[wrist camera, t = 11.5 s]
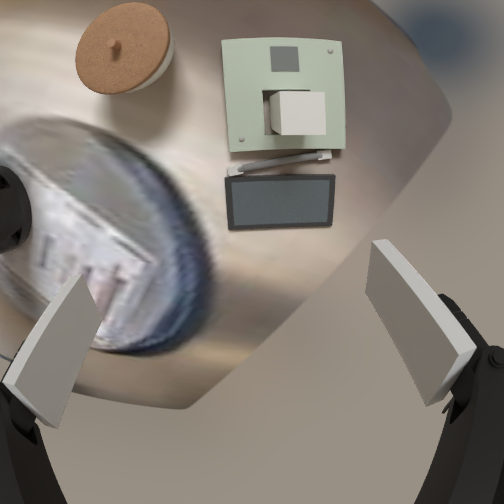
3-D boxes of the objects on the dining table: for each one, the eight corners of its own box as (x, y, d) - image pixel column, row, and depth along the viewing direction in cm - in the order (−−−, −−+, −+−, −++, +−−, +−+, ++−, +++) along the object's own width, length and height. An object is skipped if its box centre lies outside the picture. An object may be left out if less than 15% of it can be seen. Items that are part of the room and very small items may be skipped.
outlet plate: (230, 150, 33) (229, 152, 31) (222, 43, 26) (221, 40, 25) (341, 147, 33) (345, 149, 31) (337, 43, 26) (341, 41, 25)
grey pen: (229, 175, 34) (229, 176, 34) (227, 166, 34) (226, 168, 33) (330, 157, 33) (332, 158, 33) (329, 148, 33) (331, 150, 32)
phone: (228, 226, 38) (228, 230, 37) (225, 176, 35) (224, 178, 34) (329, 222, 38) (332, 225, 37) (332, 173, 35) (335, 175, 34)
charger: (271, 129, 32) (281, 136, 23) (269, 97, 30) (279, 91, 21) (303, 128, 32) (325, 135, 23) (302, 96, 30) (324, 92, 21)
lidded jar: (164, 105, 30) (137, 104, 21) (94, 87, 27) (54, 86, 19) (198, 29, 25) (182, 4, 17) (124, 15, 23) (92, -5, 15)
